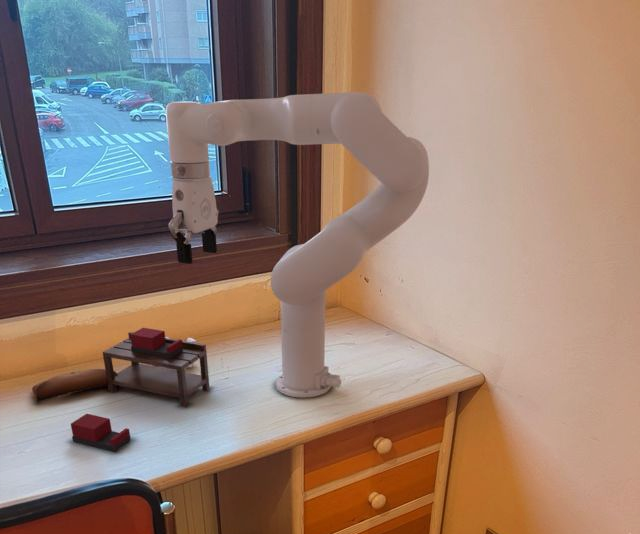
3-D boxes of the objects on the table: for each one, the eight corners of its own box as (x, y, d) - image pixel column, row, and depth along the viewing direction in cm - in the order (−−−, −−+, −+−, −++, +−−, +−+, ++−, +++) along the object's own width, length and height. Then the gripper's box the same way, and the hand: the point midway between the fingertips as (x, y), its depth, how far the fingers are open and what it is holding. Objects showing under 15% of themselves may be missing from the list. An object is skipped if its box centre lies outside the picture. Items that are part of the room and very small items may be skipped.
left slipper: (131, 440, 124) (128, 422, 122) (115, 452, 120) (112, 433, 118) (89, 430, 128) (86, 412, 126) (72, 441, 124) (69, 423, 122)
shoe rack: (209, 388, 145) (205, 344, 140) (185, 407, 137) (180, 361, 131) (136, 374, 151) (130, 331, 146) (109, 391, 143) (101, 346, 138)
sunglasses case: (110, 370, 151) (111, 353, 146) (120, 395, 148) (121, 378, 143) (29, 387, 143) (27, 369, 137) (38, 413, 140) (36, 396, 135)
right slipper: (183, 350, 139) (181, 333, 137) (170, 358, 136) (168, 341, 134) (144, 344, 143) (142, 327, 141) (131, 351, 139) (129, 334, 137)
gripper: (182, 178, 119) (191, 269, 127) (228, 167, 133) (233, 250, 141) (149, 175, 122) (159, 265, 130) (197, 165, 136) (204, 246, 144)
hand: (198, 257), depth 136 cm, fingers open, 9 cm apart
